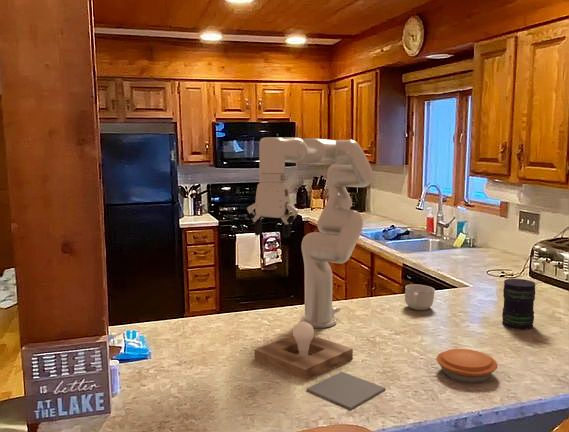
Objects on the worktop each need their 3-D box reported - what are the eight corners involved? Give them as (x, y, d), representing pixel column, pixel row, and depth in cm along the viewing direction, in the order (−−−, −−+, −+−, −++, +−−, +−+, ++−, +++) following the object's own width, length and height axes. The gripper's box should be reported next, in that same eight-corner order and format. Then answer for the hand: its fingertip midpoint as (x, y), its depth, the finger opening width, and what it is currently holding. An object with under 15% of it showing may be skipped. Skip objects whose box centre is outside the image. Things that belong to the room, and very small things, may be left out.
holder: (301, 341, 165) (301, 331, 165) (352, 358, 151) (352, 348, 151) (254, 359, 151) (254, 349, 151) (305, 380, 137) (305, 369, 137)
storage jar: (525, 332, 171) (527, 287, 169) (496, 325, 178) (498, 282, 176) (538, 325, 177) (541, 282, 175) (510, 318, 185) (512, 277, 183)
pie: (429, 362, 148) (430, 345, 148) (485, 362, 148) (485, 345, 147) (444, 386, 133) (445, 367, 132) (506, 387, 133) (507, 368, 132)
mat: (341, 373, 141) (341, 371, 141) (385, 389, 131) (385, 387, 131) (306, 390, 131) (306, 388, 131) (350, 409, 122) (351, 407, 122)
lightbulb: (303, 353, 155) (303, 317, 154) (318, 358, 151) (318, 322, 150) (288, 359, 151) (288, 322, 150) (304, 365, 147) (303, 327, 145)
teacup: (411, 302, 205) (411, 282, 204) (438, 306, 199) (439, 286, 198) (396, 311, 194) (396, 290, 193) (424, 316, 188) (425, 294, 187)
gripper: (303, 179, 155) (303, 236, 157) (254, 178, 164) (254, 232, 166) (291, 180, 149) (291, 240, 151) (240, 179, 157) (241, 235, 159)
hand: (272, 236), depth 158 cm, fingers open, 9 cm apart
